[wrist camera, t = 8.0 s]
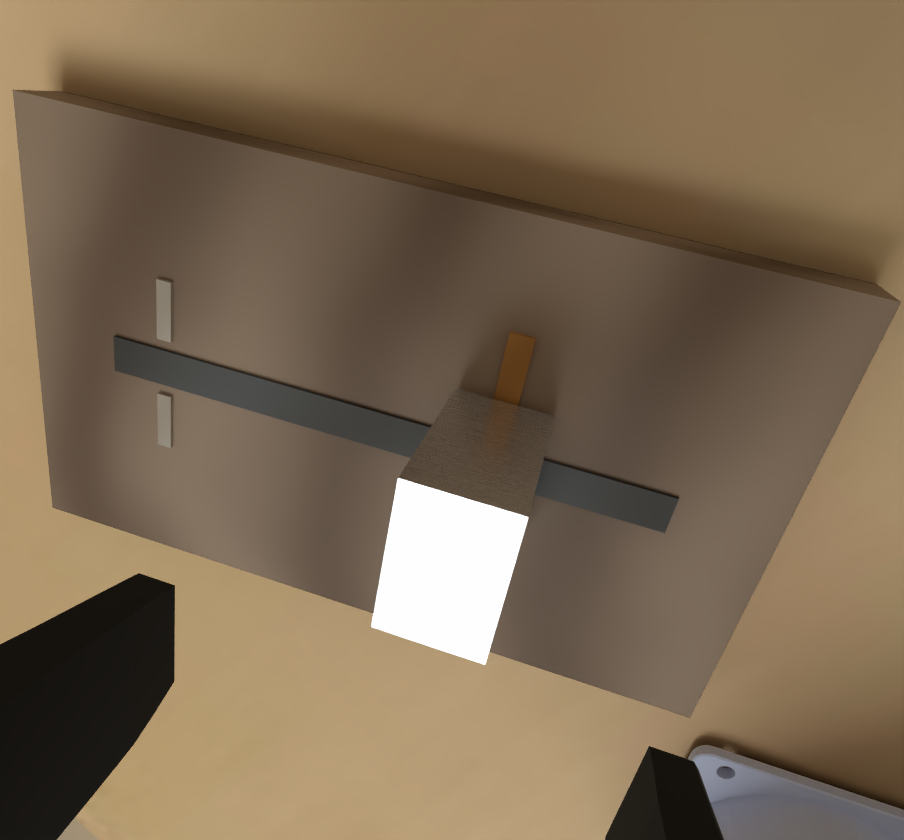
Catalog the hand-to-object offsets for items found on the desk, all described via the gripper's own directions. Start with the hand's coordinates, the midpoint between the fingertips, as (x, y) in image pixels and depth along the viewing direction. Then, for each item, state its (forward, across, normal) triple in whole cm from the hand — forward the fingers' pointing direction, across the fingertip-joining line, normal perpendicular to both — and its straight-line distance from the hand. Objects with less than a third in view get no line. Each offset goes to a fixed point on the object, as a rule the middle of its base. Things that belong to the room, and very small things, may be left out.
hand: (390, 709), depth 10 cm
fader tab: (+8, 0, 0) cm, 8 cm away
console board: (+9, +3, 0) cm, 10 cm away
